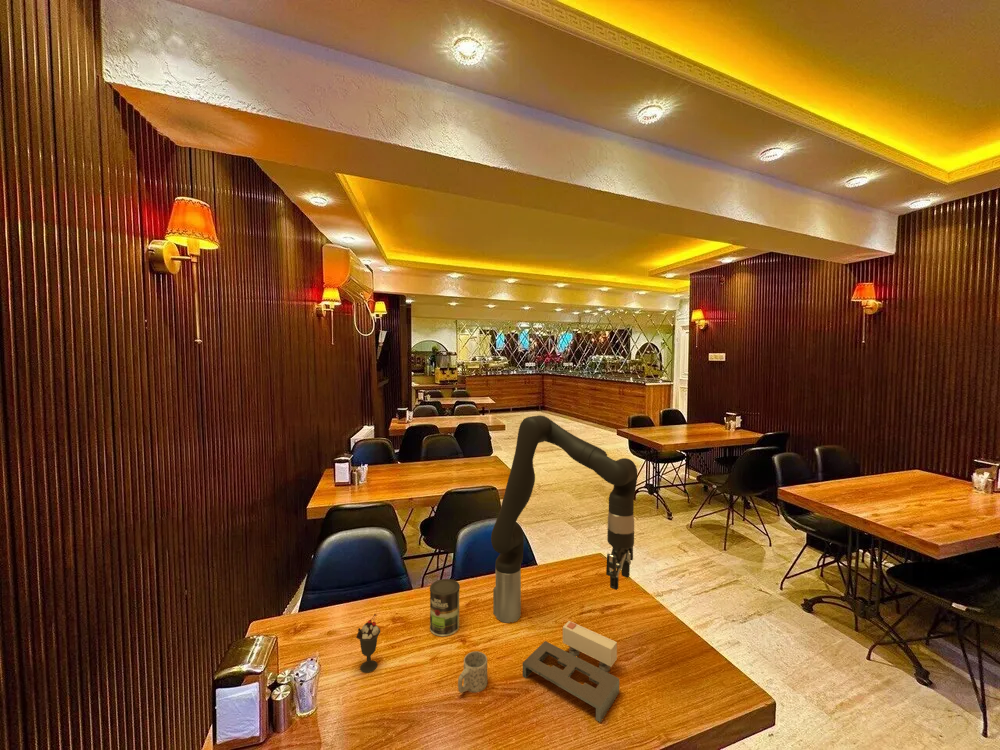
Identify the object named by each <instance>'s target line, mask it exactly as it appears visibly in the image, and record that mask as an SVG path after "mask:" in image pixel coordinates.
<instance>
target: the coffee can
mask: <svg viewBox="0 0 1000 750" xmlns="http://www.w3.org/2000/svg"><path fill="white" fill-rule="evenodd" d="M429 586H430V587H429V591H430V596H429V598H430V599H429V601H430V602H429V605H430V607H429V610H430V611H429V631H430V632H431V634H433V635H434V636H436V637H442V638H443V637H450V636H451V635H454V634H455V633H457V632H458V631H459V629H460V589H461V585H460V582H458V581H457V580H455V579H451V578H442V579H441V578H440V579H439V580H436V581H434V582H432V584H430V585H429Z"/></svg>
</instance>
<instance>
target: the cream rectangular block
mask: <svg viewBox="0 0 1000 750" xmlns="http://www.w3.org/2000/svg"><path fill="white" fill-rule="evenodd" d="M562 644H564V645H567V646H568V647H569V648H568V653H570V654H572V655H574V656H577V657H579V656H580V655H579V654H580V652H581V653H583V654H585V655H586V656H589V657H591V658H593V659H594V660H597V661H599V662H598V668H600V669H601V670H603V671H605V672H607V673H609V672H610V671H611V667H613V665H614V664H615V662H616V661H617V660H618V645H617V644H618V642H617V641H615V640H613V639H611V638H608V637H607V636H604V635H603V634H600V633H597V632H595V631H593V630H591V629H588V628H586V627H584V626H582V625H579V624H577V623H576V622H573V621H571V620H568V621H567V622H566V623H564V625H563V626H562Z"/></svg>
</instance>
